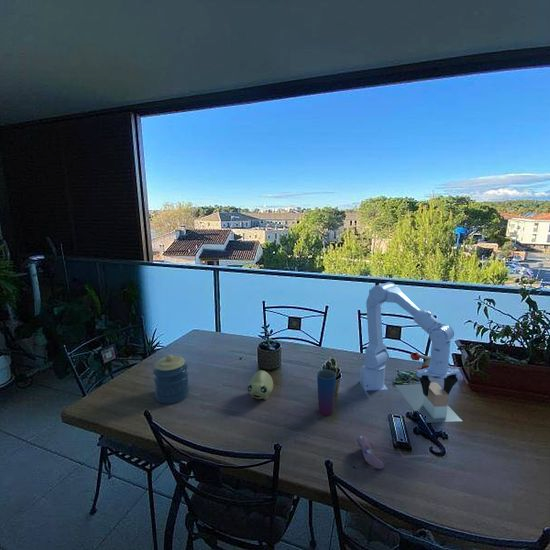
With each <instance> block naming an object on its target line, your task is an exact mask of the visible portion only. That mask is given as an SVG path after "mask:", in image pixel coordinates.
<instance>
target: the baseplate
mask: <svg viewBox="0 0 550 550" xmlns="http://www.w3.org/2000/svg"><path fill="white" fill-rule="evenodd" d="M394 386H395V388H396V390H397V391H398V392H399V393H400V394H401V395H402V397H403V399H404V400H405V401H406V403H408V405H409V406H410V407H411V409H412V410H413V411H414V412H415V411H418V412H419V413H421V414H422V415H423V416H426V418H425V419H426V420H425V421H426V424H427V423H430V424H431V423H451V422H453V423H455V422H463V420H462V419H461V417H460V416H458V414H456V412H455V411H454V410H453V409H452V408H451V407H450V406H449V405H448V404H447V415H446V418H433V417H432V416H431V415H430V413H429V412H428V411H427V410H426V409H425V407H424V406H423V405H422V404H423V389H422V385H421V383H420V384H418V383H417V384H416V383H415V384H395V385H394Z"/></svg>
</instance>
